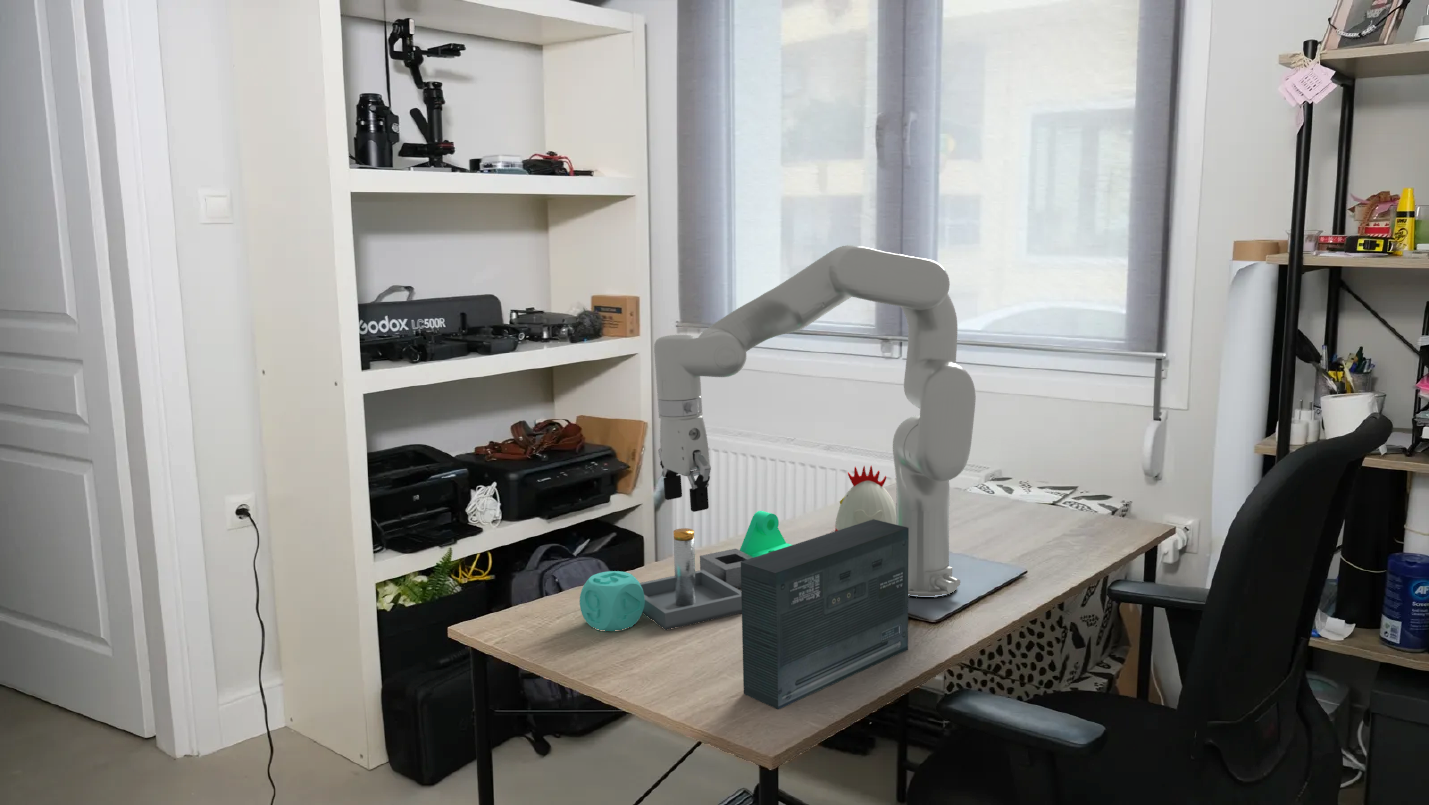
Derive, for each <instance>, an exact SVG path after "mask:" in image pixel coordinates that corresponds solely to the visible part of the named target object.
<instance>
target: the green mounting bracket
mask: <svg viewBox="0 0 1429 805" xmlns="http://www.w3.org/2000/svg"><path fill="white" fill-rule="evenodd" d="M779 523H780V522H779V517H778V516H777V514H775V513H771V512H768V511H765V510H764V511H763V510H758V511H756V512H755V513H754V514H753V515H752V517H751V520H750V523H749V525H748V529H747V530H746V533H745V536H744V538H743V541H742V543H741V546H740V548H739V550H740V551H742V552H744V553H746V554H748V555H750V556H752V557H757V556H760V555H763V554H766V553H769V552H773V551H776V550H779V549H782V548H785V547H788V546H791V545H793V544H791V543H787V542H786V540H785V538H784V536H783V534H782V533H781V531H780V529H779V525H780V524H779Z"/></svg>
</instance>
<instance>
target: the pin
mask: <svg viewBox="0 0 1429 805" xmlns="http://www.w3.org/2000/svg"><path fill="white" fill-rule="evenodd" d="M672 532H673V556H674V557H673V558H674V559H673V560H674V563H673V564H674V576H675V599H676V605H677V606H680V607H685V606H690V605H694V604H696V585H695V571H696V558H695V557H696V554H695V550H696V549H695V530H694V529H693V528H686V527H685V528H684V527H683V528H676V529H675V530H673V531H672Z"/></svg>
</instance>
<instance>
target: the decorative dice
mask: <svg viewBox="0 0 1429 805" xmlns="http://www.w3.org/2000/svg"><path fill="white" fill-rule="evenodd" d="M640 583H641V582H640V581H639V580H638V579H637V578H636V577H635V576H634V575H633V574H632V573H629V572H626V571H622V570H621V571H619V570H617V571H616V570H614V571H613V570H610V571H609V570H607V571H602V572H598V573H596V574H595V573H594V574H593V575H591V576H590V577H589V578H588V579H587V580H586V582H585V583H584V584H583V586H582V588H581V591H580V594H579V609H580V612H581V614H582V617H583V619H584V620H585V622H586V623H587V624H588V625H589V626H590V627H591V628H592V627H594V628H596V629H599V630H605V631H604V632H606V631H614V632H616V631H615V630H621V631H623V630H622V629H625V628H628V627H630V628H632V627H634V626H633V625H634V624H635V625H636V623H638V622H639V620H640V618H641V616H642V615H643V614H642V612H643V609H644V603H645V598H644V592H643V589H642V587H641V585H640ZM594 628H593V629H594ZM596 629H595V630H596ZM628 629H629V628H628ZM599 630H598V631H599ZM625 630H626V629H625Z"/></svg>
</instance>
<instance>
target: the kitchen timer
mask: <svg viewBox="0 0 1429 805" xmlns="http://www.w3.org/2000/svg"><path fill="white" fill-rule="evenodd" d="M868 470H869V471H868V475H867V473H866V467H865V465H863V467H862V471H861V475H860V474H859V472H858V469H857V467H856V466H854V471H853V472H854V473H853V476H852V475H851V474H850V472H848V471H847V476H848V478H849V480H850V482H851V484H852V486H851V488H850V489H849V490H847V492H846V494H845V495H844V497H843V498H841V500H840V501H839V504H840V505H839V508H838V511H837V514H836V518H835V524H834V529H835V530H834V532H835V531H838V530H841V529H844V528H847V527H851V526H854V525H857V524H860V523H863V522H866V521H869V520H872V519H875V520H879V521H883V522H887V523H891V524H895V525H896V503H895V501H894V500H893V498H892V496H891V495H890V493H889V492H888V491H887V489H886V488H885V487H884V485H885V482H886V481H887V475H885V476H883V478H882V480H880V481H879V476H880V475H881V474H880V471H881V470H877V472H876V474H875V475H874V471H873V466H872V465H870V467H869V469H868Z"/></svg>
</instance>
